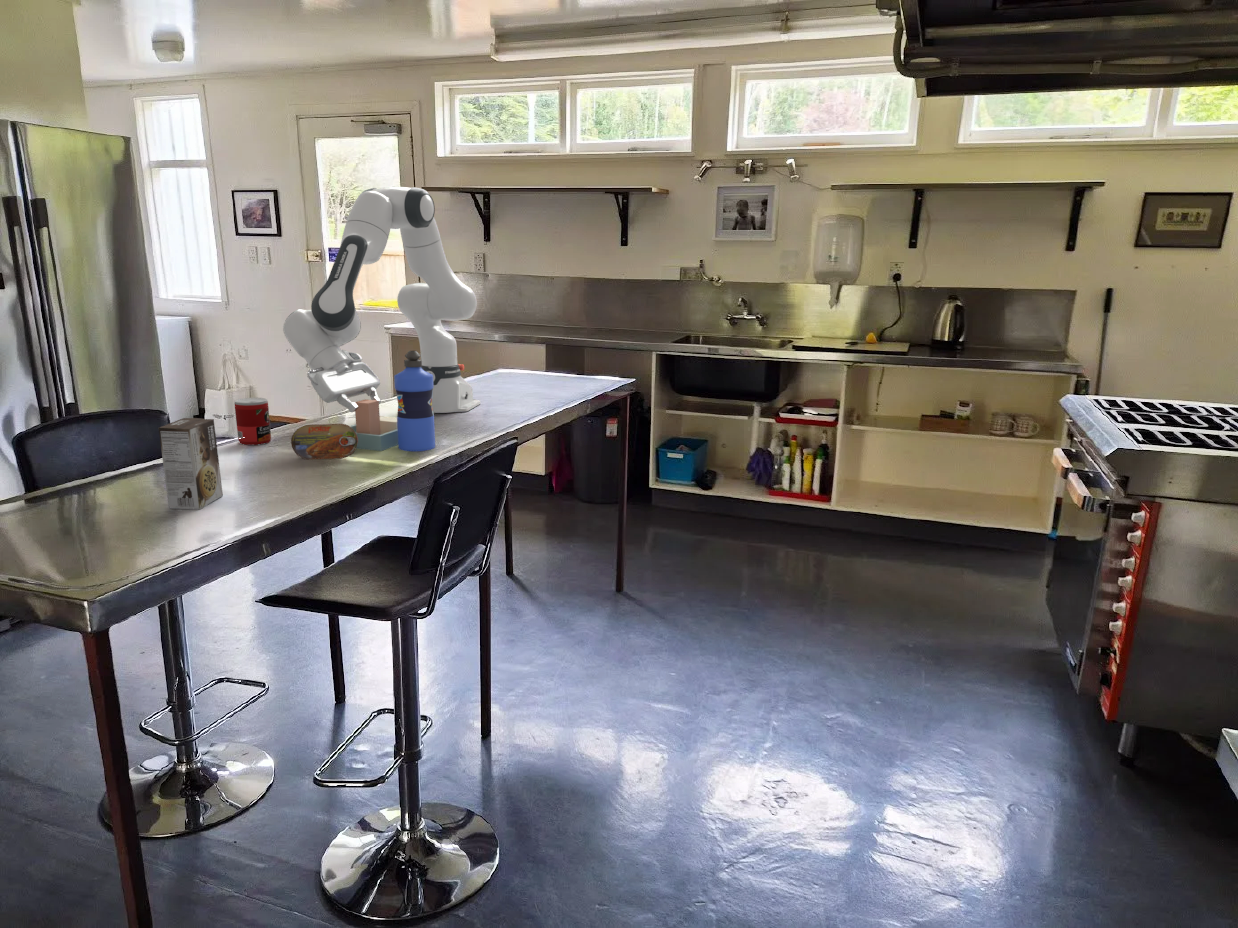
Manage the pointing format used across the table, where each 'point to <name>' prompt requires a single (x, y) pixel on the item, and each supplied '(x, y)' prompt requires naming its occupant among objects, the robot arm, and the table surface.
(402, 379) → the water bottle
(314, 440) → the tin
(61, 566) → the table surface
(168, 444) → the cookie box
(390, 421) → the beige rectangular block
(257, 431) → the canned food
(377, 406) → the salmon brown rectangular block
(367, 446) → the tote
